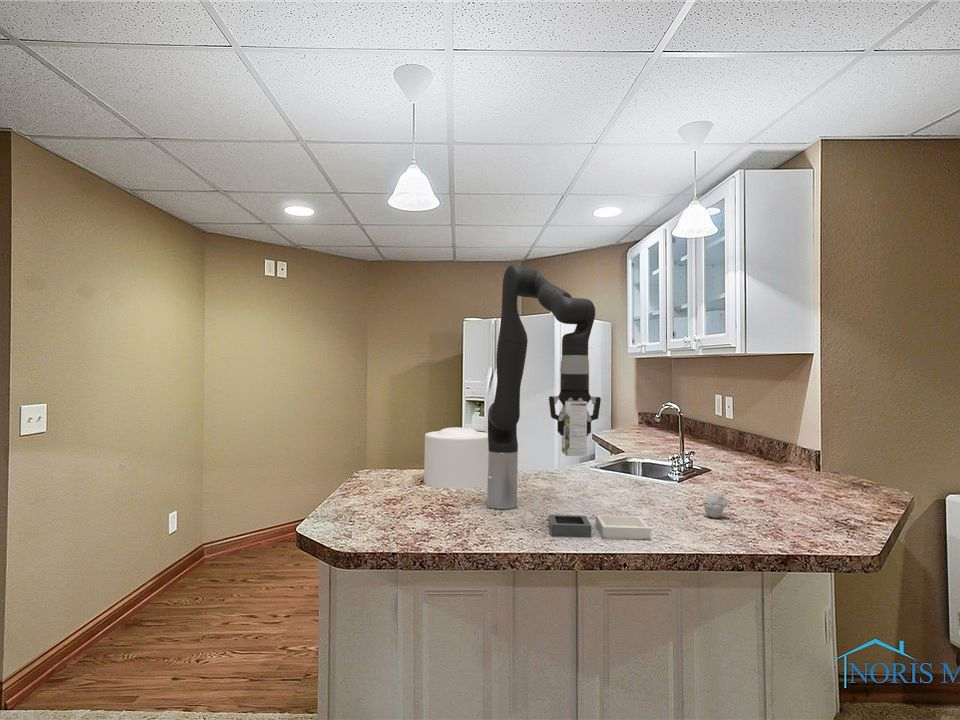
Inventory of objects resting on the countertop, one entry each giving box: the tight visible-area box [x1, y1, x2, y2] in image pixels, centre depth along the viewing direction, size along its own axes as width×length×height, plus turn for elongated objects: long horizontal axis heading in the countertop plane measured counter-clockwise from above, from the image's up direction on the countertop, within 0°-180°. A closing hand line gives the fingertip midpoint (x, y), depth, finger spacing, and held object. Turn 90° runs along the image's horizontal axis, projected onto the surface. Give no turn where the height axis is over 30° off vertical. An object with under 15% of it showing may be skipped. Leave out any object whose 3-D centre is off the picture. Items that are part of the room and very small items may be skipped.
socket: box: [548, 514, 592, 538], centre depth 155 cm, size 10×10×3 cm
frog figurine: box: [702, 493, 729, 519], centre depth 172 cm, size 6×7×7 cm
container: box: [423, 426, 489, 490], centre depth 218 cm, size 25×25×20 cm
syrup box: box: [561, 400, 588, 457], centre depth 155 cm, size 6×6×14 cm
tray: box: [595, 514, 652, 541], centre depth 154 cm, size 12×12×3 cm
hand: (574, 435), depth 155 cm, fingers closed on syrup box, 6 cm apart
